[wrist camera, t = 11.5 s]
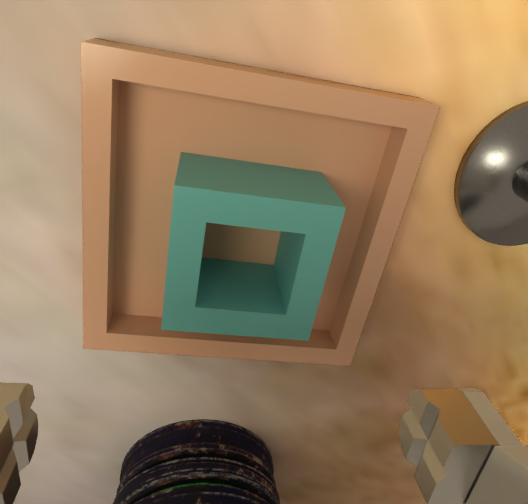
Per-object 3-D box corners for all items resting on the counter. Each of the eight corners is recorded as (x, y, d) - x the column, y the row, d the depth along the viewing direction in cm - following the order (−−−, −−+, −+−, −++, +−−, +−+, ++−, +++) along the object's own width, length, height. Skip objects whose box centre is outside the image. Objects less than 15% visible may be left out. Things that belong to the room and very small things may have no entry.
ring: (321, 171, 19) (345, 207, 16) (292, 288, 22) (308, 340, 19) (180, 151, 18) (174, 185, 15) (169, 276, 21) (161, 329, 17)
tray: (339, 339, 25) (350, 366, 23) (94, 320, 22) (83, 348, 21) (417, 97, 19) (440, 106, 17) (95, 38, 17) (81, 41, 15)
